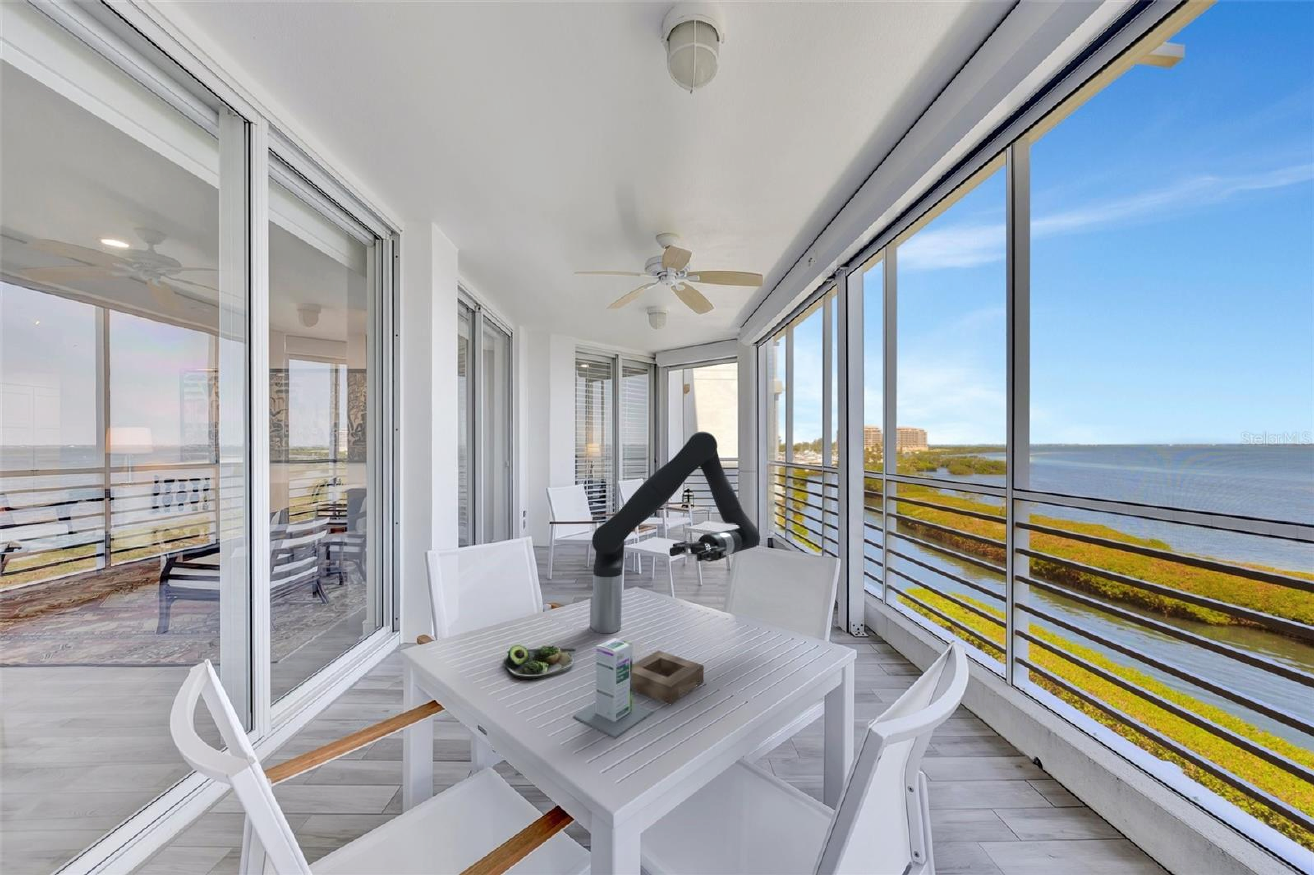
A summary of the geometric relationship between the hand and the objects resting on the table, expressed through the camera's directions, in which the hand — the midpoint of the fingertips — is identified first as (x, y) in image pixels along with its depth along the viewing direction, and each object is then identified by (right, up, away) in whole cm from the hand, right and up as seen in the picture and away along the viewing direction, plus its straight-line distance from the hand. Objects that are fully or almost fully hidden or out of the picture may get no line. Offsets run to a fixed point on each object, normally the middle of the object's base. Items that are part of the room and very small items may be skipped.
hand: (684, 554), depth 124 cm
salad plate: (-39, -30, +2) cm, 49 cm away
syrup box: (-16, -29, -21) cm, 39 cm away
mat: (-16, -29, -22) cm, 40 cm away
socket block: (-5, -30, -7) cm, 31 cm away
